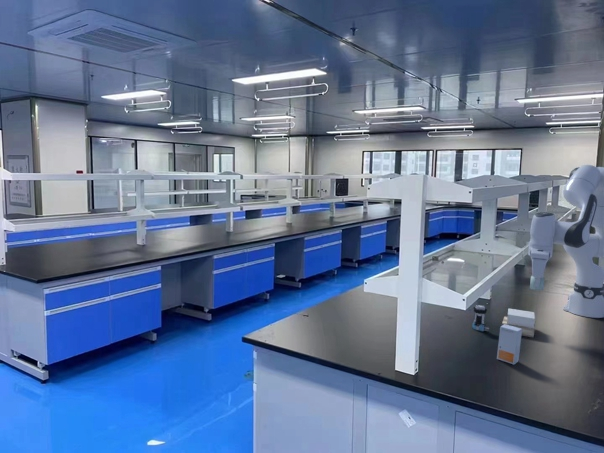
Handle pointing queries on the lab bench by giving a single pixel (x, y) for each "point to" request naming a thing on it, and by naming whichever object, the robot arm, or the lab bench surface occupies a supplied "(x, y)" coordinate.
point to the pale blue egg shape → (541, 285)
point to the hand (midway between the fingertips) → (536, 285)
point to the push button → (479, 318)
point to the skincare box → (509, 344)
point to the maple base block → (525, 330)
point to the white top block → (521, 318)
